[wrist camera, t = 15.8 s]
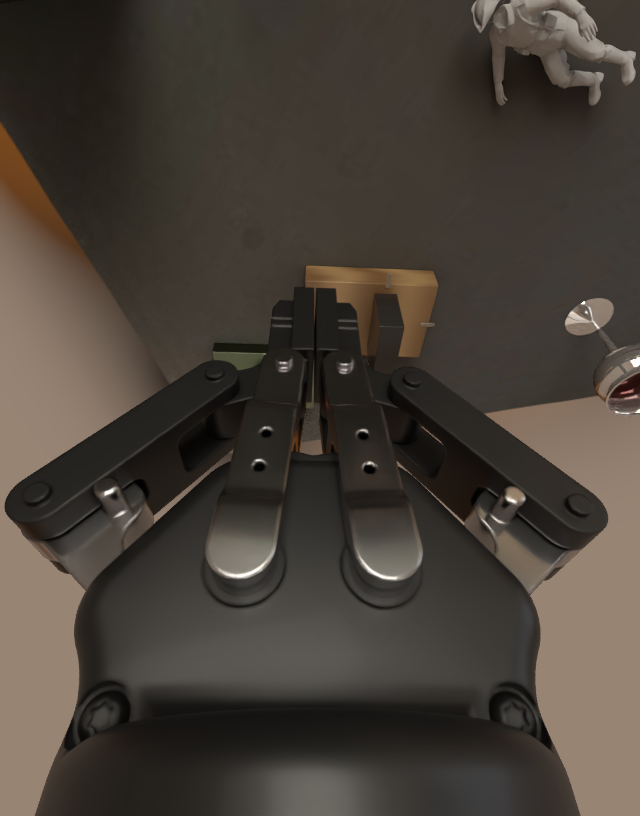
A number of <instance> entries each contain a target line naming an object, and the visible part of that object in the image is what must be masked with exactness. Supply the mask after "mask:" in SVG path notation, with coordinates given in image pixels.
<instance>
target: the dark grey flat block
mask: <svg viewBox="0 0 640 816" xmlns="http://www.w3.org/2000/svg"><path fill="white" fill-rule="evenodd" d="M404 328H405V327H404V322H403V318H402V314H401V310H400V305H399V301H398V297H397V294H377V293H375V296H374V303H373V310H372V317H371V324H370V330H369V337H368V344H367V354H368V362H369V367H370V368H372V369H373V370H375V371H378V372H381V373H384V374H388V375H391V374H392V373H393V372H394V371H395V370H396V365H397V360H398V356H399V351H400V346H401V342H402V337H403V333H404Z"/></svg>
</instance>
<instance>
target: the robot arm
mask: <svg viewBox="0 0 640 816" xmlns="http://www.w3.org/2000/svg"><path fill="white" fill-rule="evenodd" d="M17 1H23V0H0V4H5V3H11V2H17ZM313 364H314V403H320V415H319V425H320V435H321V444H322V453H323V454H321V455H308V454H304V453H300V446H301V439H302V431H303V423H304V415H305V413H306V402H308V403H312V385H313ZM422 426H423V427H424V428H425V429H426V430H428V431H429V432H430V433H431V434H433V435H434V436H435V437H436V438H437V439H439V440H440V441H441V442H442V444H443V445H442V444H441V443H440V442H439V441H437V440H436V439H435V438H434V437H432V436H431V435H430V434H429V433H428V432H426V431H425V430H424V429H423V428H422ZM232 449H234V451H233V455H232V459H231V461H230V462H227V463H225V464H223V465H222V466H220V467H218V468H217V469H215V470H214V471H212V472H211V473H210V474H209V475H207V477H205V478H204V479H203V480H202V481H201V482H200V483H199V484H198V485H196V486H195V487H194V488H193V489H192V490H191V491H190V492H189V493H188V494H187V495H185V496H184V497H183V498H182V499H181V500H180V501H179V502H178V503H177V504H176V505H174V506H173V507H172V508H171V509H170V510H169V511H168V512H167V513H166V514H165V515H163V516H162V517H161V518H160V519H159V520H158V521H157V522H155V524H154V515H155V514H156V513H157V512H159V511H160V510H161V509H162V508H163V507H165V505H167V504H168V503H169V502H171V501H172V500H173V499H174V498H175V497H176V496H178V495H179V494H180V493H181V492H182V491H183V490H185V489H186V488H187V487H188V486H189V485H191V484H192V483H193V482H194V481H196V480H197V479H198V478H199V477H200V476H201V475H203V474H204V473H205V472H206V471H207V470H209V469H210V468H211V467H212V466H213V465H215V464H216V463H217V462H218V461H219V460H220V459H221V458H223V457H224V456H225V455H227V454H228V453H229V452H230V451H231V450H232ZM396 460H397V461H398V462H399V463H400V464H401V465H402V466H403V467H404V468H405V469H407V470H408V471H409V472H410V473H411V474H412V475H413V476H414V477H415V478H416V479H415V478H414V477H413V476H412V475H411V474H409V473H408V472H407V471H405V470H403V469H402V468H400V467H398V465H397V461H396ZM418 480H419V481H420V482H421V483H422V484H423V485H424V486H425V487H426V488H427V489H428V490H430V491H431V492H432V493H433V494H434V495H435V496H436V497H437V498H438V499H439V500H441V501H442V502H443V503H444V504H445V505H446V506H447V507H448V508H449V509H450V510H451V511H452V512H454V513H455V514H456V515H457V516H458V517H459V518H460V519H462V521H463V522H464V523H465V525H463V524H462V523H461V522H460V521H459V520H458V519H457V518H455V517H454V516H453V515H452V514H451V513H450V512H449V511H448V510H447V509H446V508H445V507H444V506H443V505H442V504H441V503H440V502H439V501H438V500H437V499H436V498H435V497H434V496H433V495H432V494H431V493H430V492H429V491H428V490H427V489H426V488H425V487H424V486H423V485H422V484H421V483H420V482H419V481H418ZM5 512H6V514H7V515H8V517H9V518H10V519H11V520H12V521H13V522H14V523H15V524H16V525H17V526H18V527H19V528H20V529H21V532H22V534H23V535H24V536H25V537H26V539H27V540H28V541H29V542H30V543H31V544H32V545H33V546H34V547H35V548H36V549H37V550H38V551H39V552H40V553H41V554H42V556H43V557H45V558H46V559H49V560H50V561H51V562H52V563H53V565H55V567H56V568H57V569H58V570H60V571H61V572H63V573H67V574H71V575H72V576H73V577H74V579H75V580H76V581H77V582H78V583H79V584H80V585H81V586H82V587H83V588H84V590H85V591H86V592H85V594H84V596H83V598H82V600H81V602H80V605H79V607H78V610H77V614H76V619H75V626H74V637H75V645H76V649H77V654H78V660H79V691H78V700H77V704H76V708H75V711H74V715H73V718H72V720H71V723H70V725H69V728H68V730H67V732H66V735H65V737H64V739H63V742H62V744H61V746H60V748H59V750H58V753H57V755H56V757H55V759H54V762H53V764H52V767H51V769H50V772H49V775H48V777H47V780H46V783H45V786H44V789H43V792H42V795H41V798H40V801H39V804H38V808H37V811H36V814H35V816H580V813H579V810H578V807H577V803H576V800H575V796H574V793H573V790H572V787H571V784H570V781H569V778H568V775H567V772H566V770H565V768H564V766H563V763H562V761H561V759H560V757H559V755H558V753H557V751H556V749H555V746H554V745H553V742H552V740H551V738H550V736H549V734H548V731H547V729H546V727H545V725H544V722H543V720H542V717H541V714H540V711H539V708H538V703H537V697H536V686H535V669H536V660H537V655H538V650H539V646H540V623H539V618H538V614H537V611H536V607H535V605H534V603H533V600H532V598H531V597H530V595H531V594H532V593H533V592H534V590H535V589H536V588H537V587H538V586H539V585H540V584H541V583H542V581H545V580H548V579H550V578H552V577H553V576H554V575H555V574H556V573H557V572H558V571H559V570H560V569H561V568H562V567H564V566H565V565H566V564H567V563H568V562H569V561H570V560H571V559H572V558H573V557H574V556H575V555H577V554H578V553H579V552H580V551H581V550H582V549H583V548H584V547H585V546H586V545H587V544H588V543H589V542H591V541H592V540H593V539H594V538H595V537H596V536H597V535H598V534H599V533H600V532H601V531H602V530H603V529H604V528H605V527H606V525H607V523H608V514H607V511H606V509H605V507H604V505H603V503H602V502H601V501H600V500H599V499H598V498H597V497H596V496H595V495H594V494H593V493H591V492H590V491H589V490H587V489H586V488H585V487H583V486H582V485H580V484H579V483H578V482H576V481H575V480H574V479H572V478H571V477H569V476H568V475H567V474H565V473H564V472H563V471H561V470H560V469H558V468H557V467H556V466H554V465H553V464H552V463H550V462H549V461H548V460H546V459H545V458H543V457H542V456H541V455H539V454H538V453H536V452H535V451H534V450H532V449H531V448H530V447H528V446H527V445H526V444H524V443H523V442H521V441H520V440H519V439H517V438H516V437H515V436H513V435H512V434H510V433H509V432H508V431H506V430H505V429H504V428H502V427H501V426H500V425H498V424H497V423H495V422H494V421H493V420H491V419H490V418H488V417H487V416H486V415H485V414H483V413H482V412H480V411H479V410H478V409H476V408H475V407H474V406H472V405H471V404H469V403H468V402H467V401H465V400H464V399H463V398H461V397H460V396H458V395H457V394H456V393H454V392H453V391H452V390H450V389H449V388H448V387H446V386H445V385H443V384H442V383H441V382H439V381H438V380H437V379H435V378H434V377H432V376H431V375H430V374H428V373H427V372H425V371H423V370H421V369H419V368H415V367H402V368H399V369H397V370H395V371H394V372H393V373H392V374H391V375H388V374H384V373H381V372H378V371H375V370H373V369H372V368H370V367H369V366H367V365H366V361H365V360H364V358H363V357H362V354H361V345H360V336H359V330H358V319H357V311H356V310H355V309H354V307H353V306H352V305H351V304H350V303H339V302H337V294H336V288H316V300H315V321H314V288H312V287H294V301H284V300H280V301H279V302H278V303H277V304H276V305H275V306H274V308H273V311H272V319H271V327H270V336H269V344H268V352H267V353H266V354H265V355H264V357H263V359H262V362H261V363H260V364H258V365H256V366H254V367H251V368H248V369H243V370H237V368H236V367H235V366H234V365H233V364H231V363H229V362H227V361H222V360H213V361H208V362H205V363H203V364H201V365H199V366H198V367H196V368H194V369H193V370H191V371H190V372H188V373H187V374H185V375H184V376H182V377H181V378H179V379H178V380H176V381H174V382H173V383H171V384H170V385H168V386H167V387H165V388H164V389H162V390H161V391H159V392H158V393H156V394H154V395H153V396H151V397H150V398H148V399H147V400H145V401H144V402H142V403H141V404H139V405H137V406H136V407H135V408H133V409H131V410H130V411H129V412H127V413H125V414H124V415H122V416H121V417H119V418H117V419H116V420H114V421H113V422H111V423H110V424H108V425H107V426H105V427H104V428H102V429H101V430H99V431H97V432H96V433H94V434H93V435H91V436H90V437H88V438H87V439H85V440H84V441H82V442H80V443H79V444H77V445H76V446H74V447H73V448H71V449H70V450H68V451H67V452H65V453H64V454H62V455H60V456H59V457H57V458H56V459H54V460H53V461H51V462H50V463H48V464H47V465H45V466H44V467H42V468H40V469H39V470H37V471H36V472H34V473H33V474H31V475H30V476H28V477H27V478H25V479H24V480H22V481H21V482H19V483H18V484H17V485H16V486H15V487H14V488H13V489H12V490H11V491H10V493H9V494H8V496H7V498H6V501H5Z"/></svg>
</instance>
